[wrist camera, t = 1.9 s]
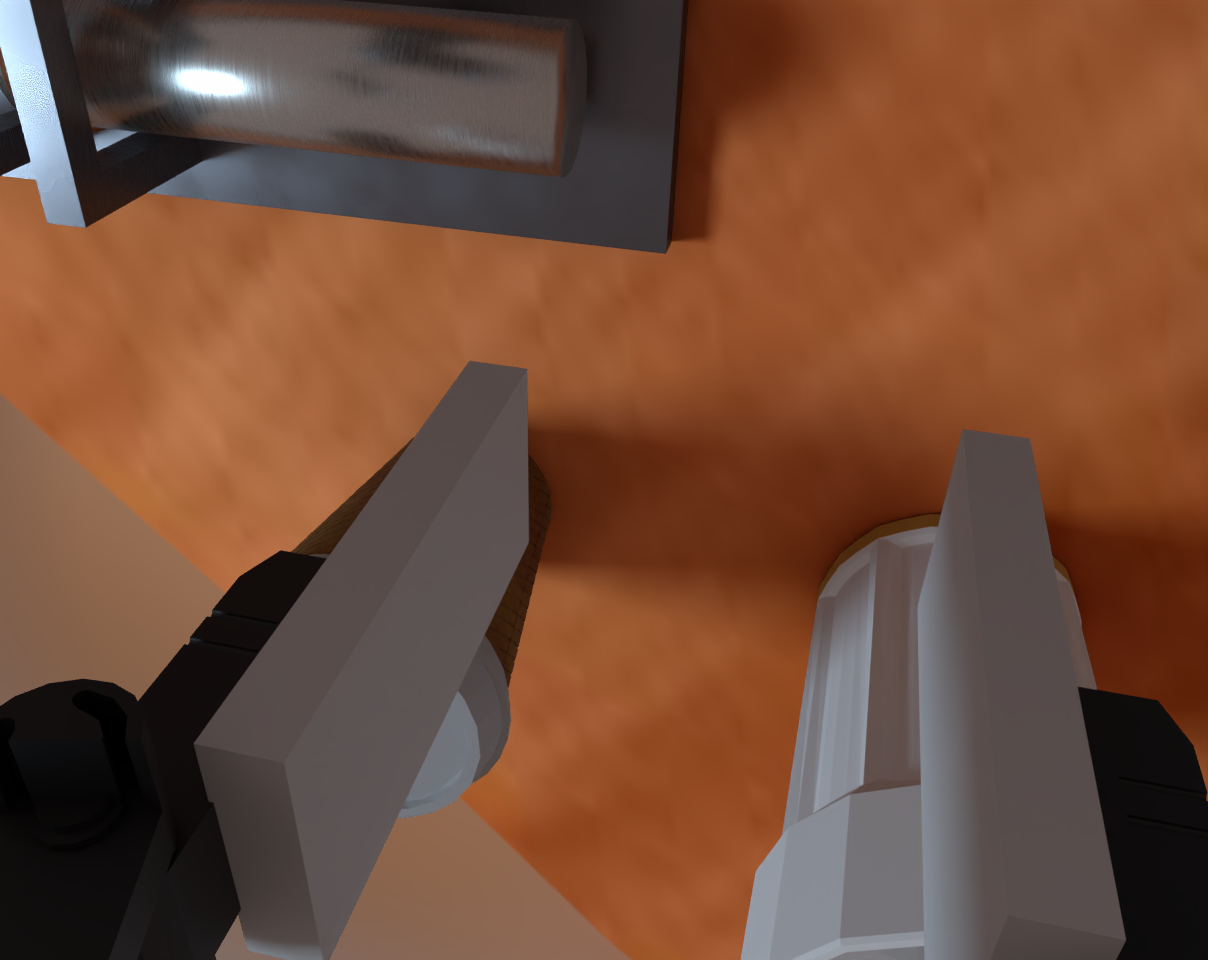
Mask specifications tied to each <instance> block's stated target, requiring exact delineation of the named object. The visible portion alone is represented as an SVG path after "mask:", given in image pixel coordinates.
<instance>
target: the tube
mask: <svg viewBox="0 0 1208 960" xmlns="http://www.w3.org/2000/svg"><path fill="white" fill-rule="evenodd" d="M62 2H63V7H64V11H65V15H66V20H67V24H68V28H69V32H70V37H71V41H72V45H73V50H74V54H75V58H76V63H77V67H78V71H79V76H80V80H81V84H82V89H83V93H84V97H85V102H86V106H87V110H88V115H89V119H90V123H91V128H92V132H99V131H102V130H105V129H115V130H124V131H133V132H143V133H152V134H161V135H171V136H180V137H189V138H199V139H208V140H217V141H227V142H236V143H245V144H254V145H264V146H273V147H282V148H292V149H301V150H310V151H320V152H329V153H338V154H348V155H357V156H366V157H376V158H385V159H394V160H404V161H413V162H422V163H432V164H441V165H450V166H460V167H469V168H478V169H488V170H497V171H506V172H516V173H525V174H534V175H544V176H553V177H562V178H564V177H566V176H567V175H568V174H569V172H570V171H571V169H572V167H573V165H574V162H575V159H576V156H577V153H578V149H579V145H580V141H581V136H582V130H583V124H584V116H585V107H586V93H587V59H586V47H585V40H584V36H583V32H582V28H581V26H580V24H579V22H578V21H577V20H575V19H564V18H552V17H540V16H527V15H515V14H503V13H491V12H478V11H466V10H454V9H442V8H429V7H417V6H405V5H393V4H380V3H368V2H356V1H344V0H62ZM0 88H1V90H2V91H3V93H4V95H5V96H6V98H7V99H8V101H9V102H10V103H11V104H12V105H13V106H14V107H15V108H16V109H17V107H16V103H15V100H14V96H13V92H12V88H11V85H10V81H9V77H8V73H7V70H6V66H5V62H4V58H3V55H2V51H1V47H0Z"/></svg>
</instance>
